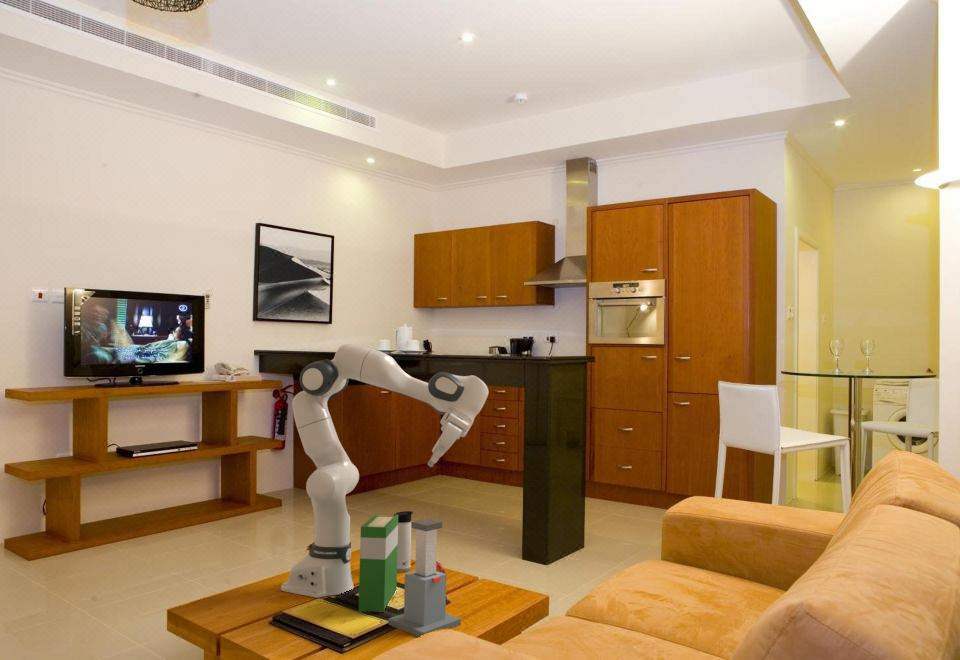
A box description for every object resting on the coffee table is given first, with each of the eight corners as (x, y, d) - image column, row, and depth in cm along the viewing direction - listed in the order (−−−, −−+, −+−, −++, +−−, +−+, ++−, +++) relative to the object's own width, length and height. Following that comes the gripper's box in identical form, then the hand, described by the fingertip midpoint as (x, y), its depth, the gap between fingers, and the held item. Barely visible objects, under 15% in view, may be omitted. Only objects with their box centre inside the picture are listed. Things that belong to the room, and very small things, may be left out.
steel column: (409, 616, 188) (411, 521, 189) (425, 611, 192) (427, 518, 193) (424, 622, 183) (426, 525, 185) (440, 616, 188) (442, 522, 189)
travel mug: (408, 573, 234) (409, 513, 235) (389, 571, 236) (391, 512, 237) (413, 567, 240) (414, 510, 242) (395, 566, 242) (397, 508, 243)
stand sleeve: (388, 624, 187) (389, 573, 188) (425, 611, 197) (426, 563, 198) (423, 638, 178) (424, 585, 178) (460, 624, 188) (461, 574, 189)
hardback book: (373, 592, 214) (375, 514, 215) (396, 593, 213) (398, 514, 215) (358, 611, 196) (360, 526, 198) (383, 613, 196) (386, 527, 197)
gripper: (442, 425, 219) (419, 462, 214) (450, 413, 200) (425, 453, 195) (459, 435, 219) (436, 473, 214) (469, 424, 200) (444, 465, 195)
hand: (431, 463), depth 205 cm, fingers open, 8 cm apart
